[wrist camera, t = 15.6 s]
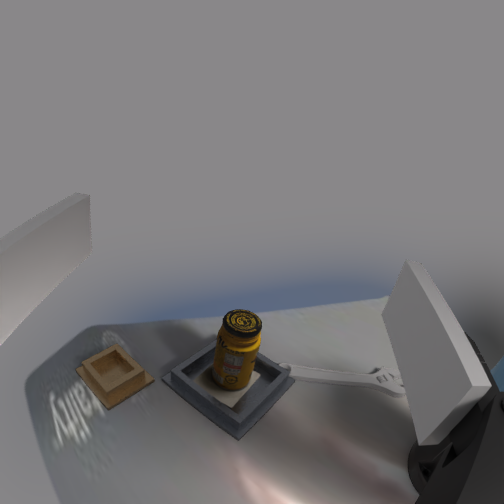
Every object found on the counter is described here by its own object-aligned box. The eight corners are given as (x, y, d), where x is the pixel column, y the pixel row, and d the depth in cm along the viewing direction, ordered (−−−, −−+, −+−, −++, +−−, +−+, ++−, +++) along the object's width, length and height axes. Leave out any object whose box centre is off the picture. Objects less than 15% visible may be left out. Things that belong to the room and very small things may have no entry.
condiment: (260, 375, 49) (277, 319, 43) (231, 408, 42) (244, 353, 37) (223, 354, 52) (233, 297, 46) (191, 383, 45) (196, 325, 39)
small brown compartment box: (154, 381, 44) (153, 370, 43) (108, 410, 38) (105, 400, 36) (119, 348, 49) (118, 337, 47) (76, 371, 42) (72, 360, 40)
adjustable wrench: (274, 379, 50) (276, 372, 49) (278, 353, 56) (280, 346, 55) (408, 400, 48) (412, 393, 47) (402, 375, 54) (406, 369, 53)
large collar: (294, 381, 49) (298, 371, 48) (238, 440, 38) (241, 432, 37) (224, 337, 56) (226, 326, 55) (161, 379, 45) (161, 369, 44)
